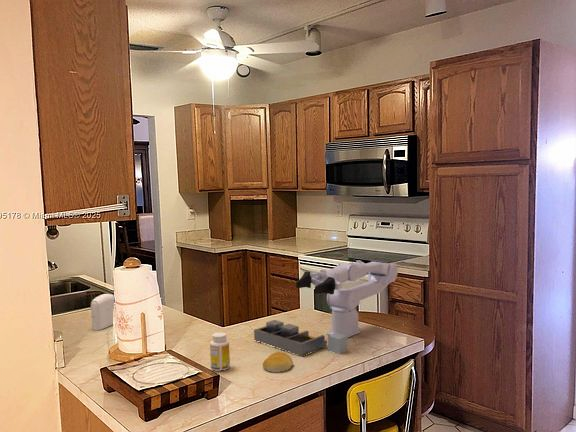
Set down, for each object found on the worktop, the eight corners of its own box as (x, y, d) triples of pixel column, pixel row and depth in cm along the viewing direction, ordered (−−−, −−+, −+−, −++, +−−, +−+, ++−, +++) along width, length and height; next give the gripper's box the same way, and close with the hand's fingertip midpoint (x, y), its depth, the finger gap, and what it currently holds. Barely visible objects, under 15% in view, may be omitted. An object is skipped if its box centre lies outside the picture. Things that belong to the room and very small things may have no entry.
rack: (279, 332, 179) (279, 316, 178) (326, 346, 163) (326, 328, 163) (254, 341, 170) (253, 324, 170) (301, 356, 155) (301, 338, 154)
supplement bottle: (230, 364, 150) (229, 330, 149) (229, 371, 145) (228, 336, 144) (211, 365, 150) (210, 331, 149) (210, 372, 144) (209, 337, 143)
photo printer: (99, 331, 185) (97, 298, 184) (90, 330, 186) (88, 297, 185) (117, 323, 194) (116, 292, 193) (108, 322, 196) (107, 291, 195)
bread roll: (258, 371, 144) (258, 358, 144) (271, 360, 153) (271, 348, 152) (285, 375, 141) (284, 361, 141) (296, 364, 150) (296, 351, 149)
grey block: (336, 347, 163) (335, 332, 162) (347, 351, 159) (347, 335, 159) (328, 351, 160) (328, 335, 159) (339, 354, 157) (339, 338, 156)
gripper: (314, 262, 173) (289, 270, 163) (349, 271, 164) (324, 280, 154) (314, 282, 175) (289, 291, 165) (348, 291, 165) (324, 302, 155)
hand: (306, 287), depth 159 cm, fingers open, 7 cm apart
